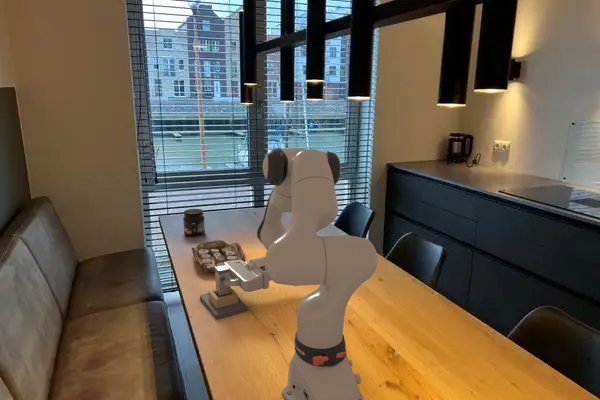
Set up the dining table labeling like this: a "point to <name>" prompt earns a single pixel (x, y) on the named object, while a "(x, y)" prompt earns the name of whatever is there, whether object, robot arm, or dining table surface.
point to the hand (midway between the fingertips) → (219, 279)
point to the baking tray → (216, 253)
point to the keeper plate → (223, 304)
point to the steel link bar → (221, 275)
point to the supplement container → (194, 222)
